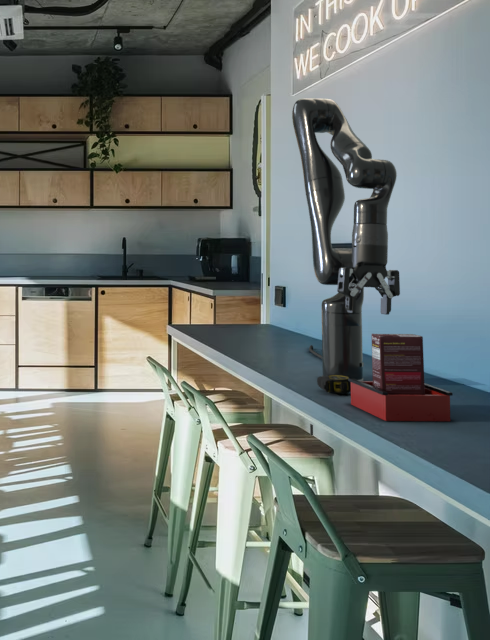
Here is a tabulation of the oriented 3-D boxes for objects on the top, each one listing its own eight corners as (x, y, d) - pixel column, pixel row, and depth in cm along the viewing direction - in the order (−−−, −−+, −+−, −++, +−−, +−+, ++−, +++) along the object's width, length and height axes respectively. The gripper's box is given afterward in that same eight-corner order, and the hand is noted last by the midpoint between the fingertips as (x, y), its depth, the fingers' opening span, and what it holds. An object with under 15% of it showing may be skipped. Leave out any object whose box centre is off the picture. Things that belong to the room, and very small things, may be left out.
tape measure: (316, 389, 172) (316, 373, 173) (347, 390, 171) (346, 374, 171) (323, 395, 166) (323, 379, 166) (356, 396, 165) (355, 380, 165)
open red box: (348, 404, 157) (348, 378, 157) (412, 404, 157) (411, 378, 157) (383, 421, 142) (382, 392, 142) (453, 421, 142) (452, 392, 142)
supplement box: (414, 410, 151) (413, 333, 152) (426, 415, 147) (424, 336, 147) (371, 409, 152) (370, 332, 153) (381, 414, 147) (380, 335, 148)
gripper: (386, 245, 175) (385, 313, 174) (332, 242, 173) (330, 311, 172) (408, 245, 168) (407, 316, 167) (351, 242, 166) (349, 313, 165)
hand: (368, 313), depth 169 cm, fingers open, 8 cm apart
